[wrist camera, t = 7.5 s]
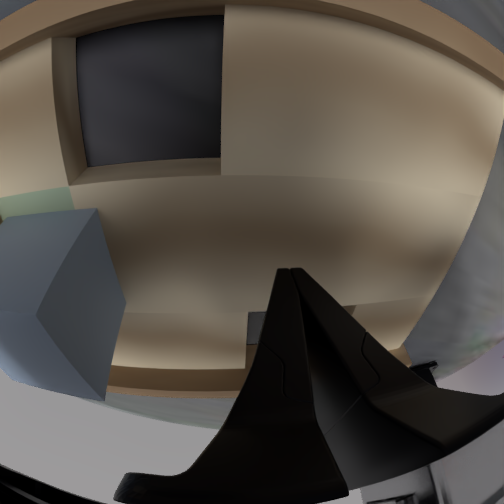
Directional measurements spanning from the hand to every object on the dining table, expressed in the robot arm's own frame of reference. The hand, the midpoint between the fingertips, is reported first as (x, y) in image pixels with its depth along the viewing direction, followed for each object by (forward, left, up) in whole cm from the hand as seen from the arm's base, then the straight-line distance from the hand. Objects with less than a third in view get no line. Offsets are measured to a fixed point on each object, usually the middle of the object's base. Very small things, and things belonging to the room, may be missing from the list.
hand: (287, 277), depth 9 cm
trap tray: (0, +1, -3) cm, 3 cm away
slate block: (0, +9, -1) cm, 9 cm away
